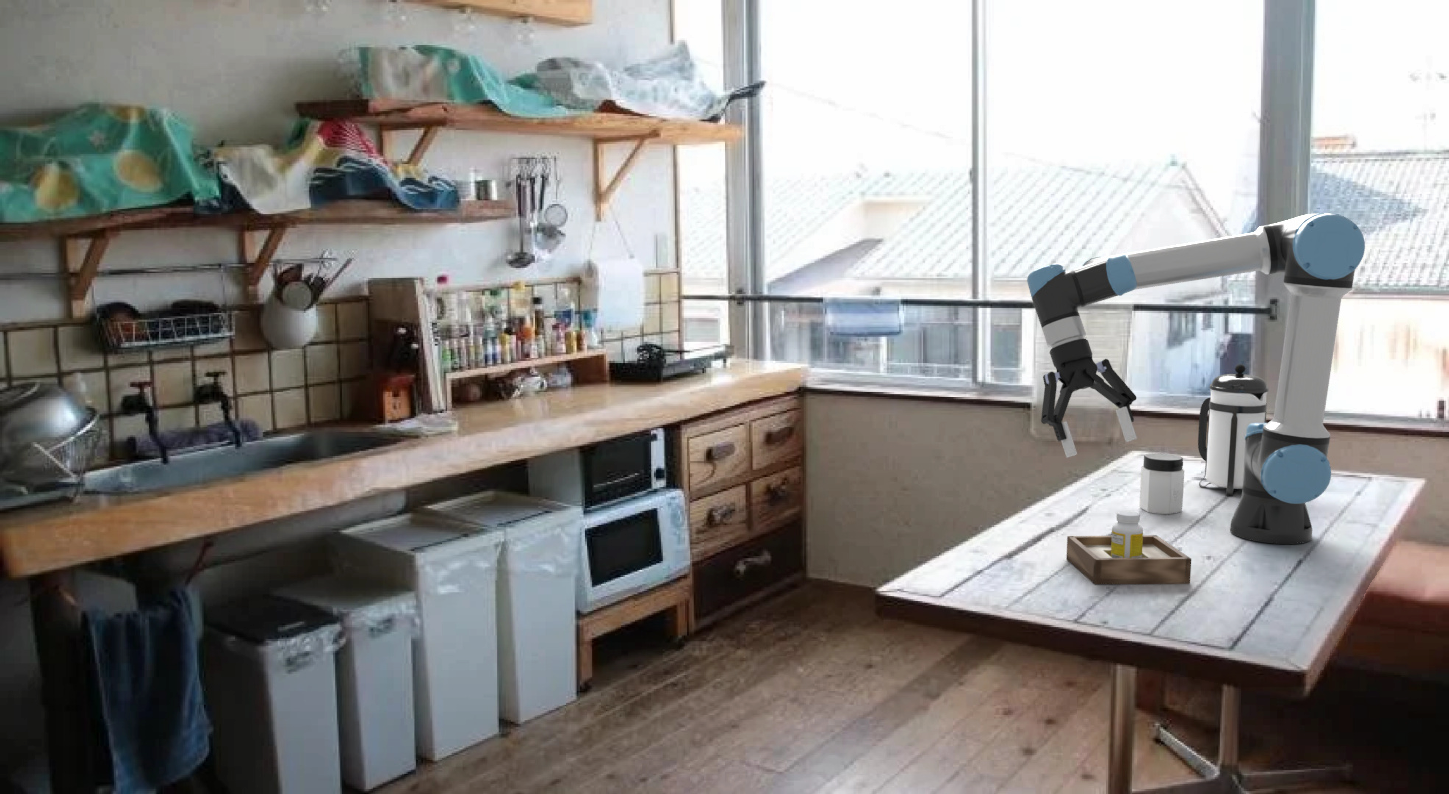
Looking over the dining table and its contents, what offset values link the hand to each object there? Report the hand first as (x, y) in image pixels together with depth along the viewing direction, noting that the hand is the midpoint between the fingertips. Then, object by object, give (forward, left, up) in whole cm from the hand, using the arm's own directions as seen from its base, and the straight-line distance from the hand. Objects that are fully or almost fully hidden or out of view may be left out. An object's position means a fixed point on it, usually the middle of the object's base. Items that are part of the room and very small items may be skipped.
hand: (1102, 448), depth 233 cm
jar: (-25, -33, -20) cm, 46 cm away
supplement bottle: (-1, +13, -19) cm, 23 cm away
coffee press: (-49, -53, -20) cm, 75 cm away
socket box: (-1, +13, -20) cm, 24 cm away
